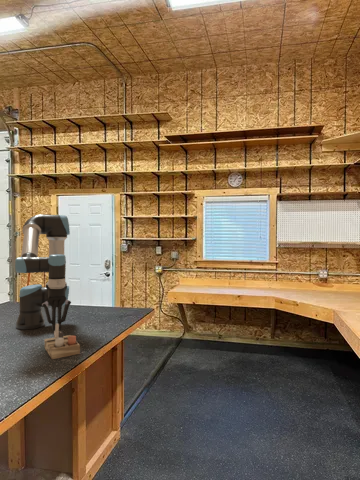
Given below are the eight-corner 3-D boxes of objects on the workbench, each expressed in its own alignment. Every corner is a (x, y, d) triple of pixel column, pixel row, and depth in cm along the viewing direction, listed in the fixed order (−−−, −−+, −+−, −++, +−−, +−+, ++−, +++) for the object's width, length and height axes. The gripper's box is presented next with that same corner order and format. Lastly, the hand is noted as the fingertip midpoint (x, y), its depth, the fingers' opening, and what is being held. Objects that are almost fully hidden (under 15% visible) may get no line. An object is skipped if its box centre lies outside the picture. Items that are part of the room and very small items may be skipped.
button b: (54, 345, 143) (54, 338, 143) (62, 344, 145) (62, 337, 145) (56, 348, 140) (56, 340, 140) (64, 346, 142) (64, 339, 142)
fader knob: (57, 337, 151) (57, 331, 151) (61, 337, 152) (61, 330, 152) (58, 339, 149) (58, 333, 149) (63, 338, 150) (63, 332, 150)
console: (44, 347, 150) (44, 338, 150) (70, 342, 157) (70, 334, 157) (51, 359, 137) (52, 349, 137) (79, 353, 144) (79, 344, 144)
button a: (66, 343, 146) (66, 336, 146) (74, 341, 148) (74, 335, 148) (68, 345, 143) (69, 338, 143) (76, 344, 145) (77, 337, 145)
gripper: (43, 289, 142) (43, 342, 143) (73, 287, 149) (72, 337, 150) (40, 287, 148) (40, 337, 149) (68, 285, 155) (68, 332, 156)
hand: (56, 337), depth 149 cm, fingers closed
